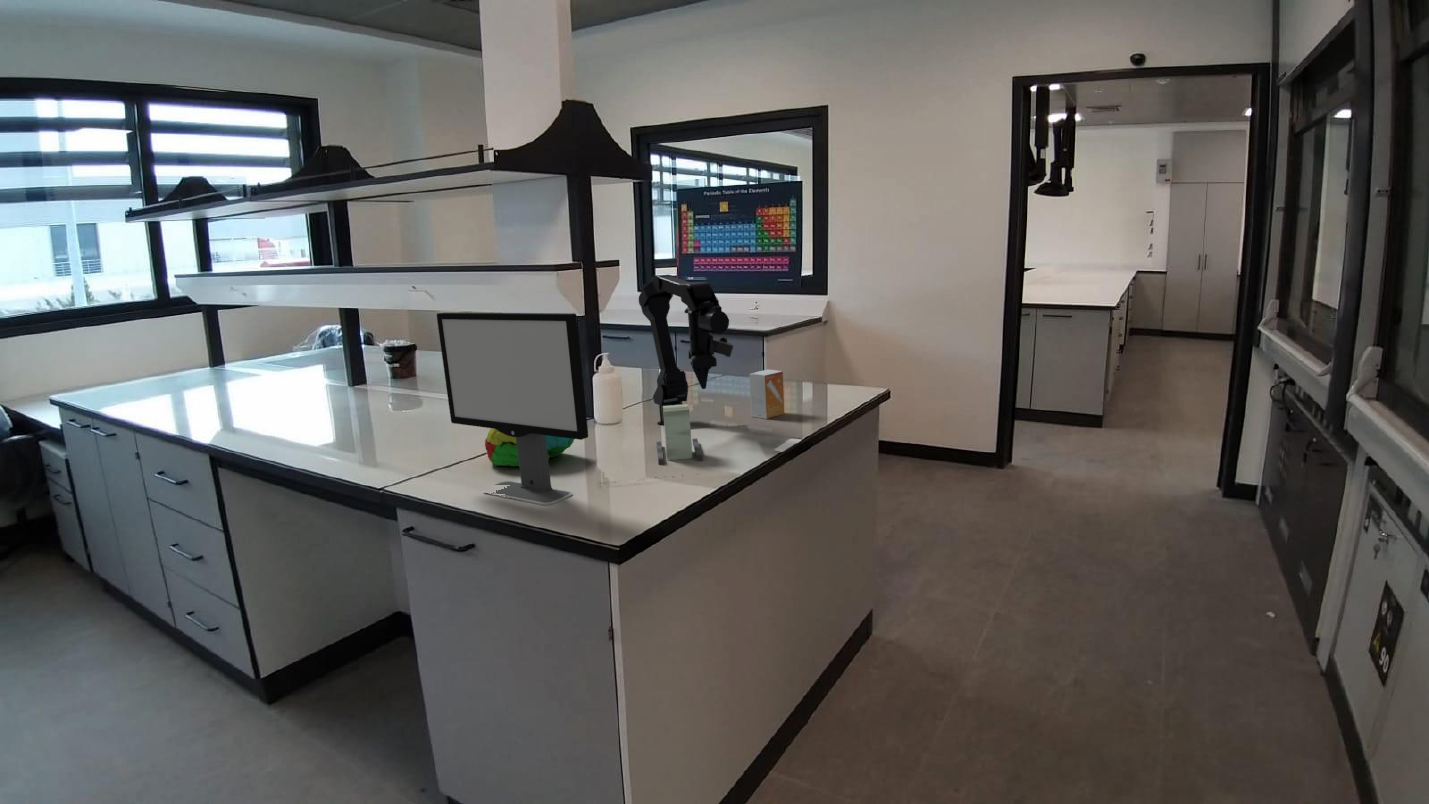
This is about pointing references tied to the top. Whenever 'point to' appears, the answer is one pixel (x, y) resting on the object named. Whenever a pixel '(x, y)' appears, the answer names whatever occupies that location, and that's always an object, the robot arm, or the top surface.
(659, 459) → the walnut chute
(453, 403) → the computer monitor
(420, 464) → the top surface
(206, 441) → the top surface
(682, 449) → the sage block
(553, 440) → the brain model
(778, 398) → the small box
